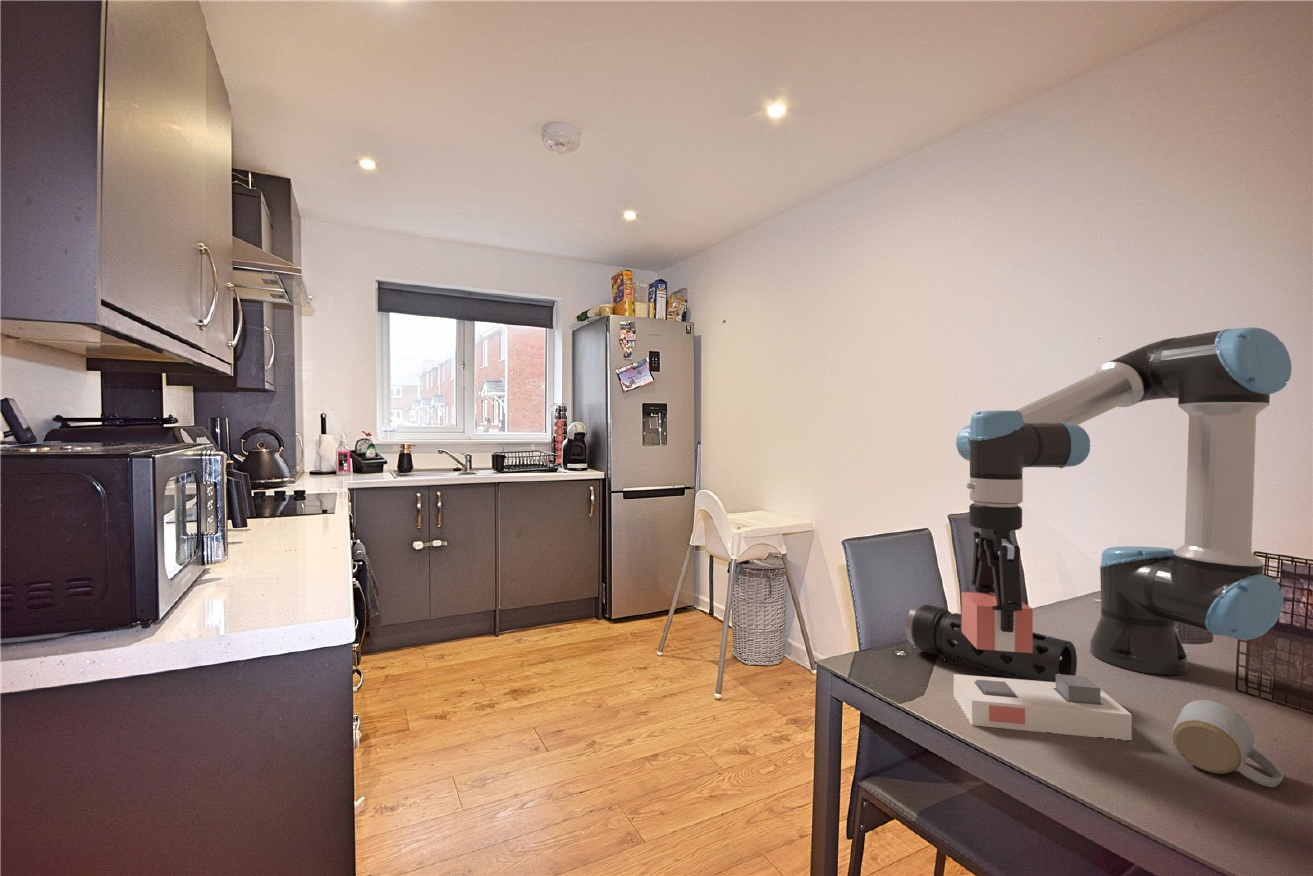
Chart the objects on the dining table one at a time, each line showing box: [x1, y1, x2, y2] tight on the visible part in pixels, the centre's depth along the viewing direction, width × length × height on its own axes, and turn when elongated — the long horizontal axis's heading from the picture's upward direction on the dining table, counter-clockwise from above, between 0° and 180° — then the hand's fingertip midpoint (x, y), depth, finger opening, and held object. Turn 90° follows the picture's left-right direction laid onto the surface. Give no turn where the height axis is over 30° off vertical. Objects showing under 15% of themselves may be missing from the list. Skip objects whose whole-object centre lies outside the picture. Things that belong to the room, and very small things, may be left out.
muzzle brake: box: [904, 604, 1078, 682], centre depth 111 cm, size 10×28×10 cm, turn 36°
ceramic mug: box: [1171, 699, 1284, 788], centre depth 79 cm, size 11×8×8 cm
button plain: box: [1056, 674, 1101, 705], centre depth 92 cm, size 4×4×4 cm
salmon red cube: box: [961, 591, 1034, 653], centre depth 94 cm, size 8×8×7 cm
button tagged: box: [976, 680, 1015, 697], centre depth 94 cm, size 4×4×4 cm
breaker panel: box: [953, 673, 1133, 741], centre depth 93 cm, size 22×10×4 cm, turn 77°
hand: (994, 640), depth 94 cm, fingers closed on salmon red cube, 8 cm apart
